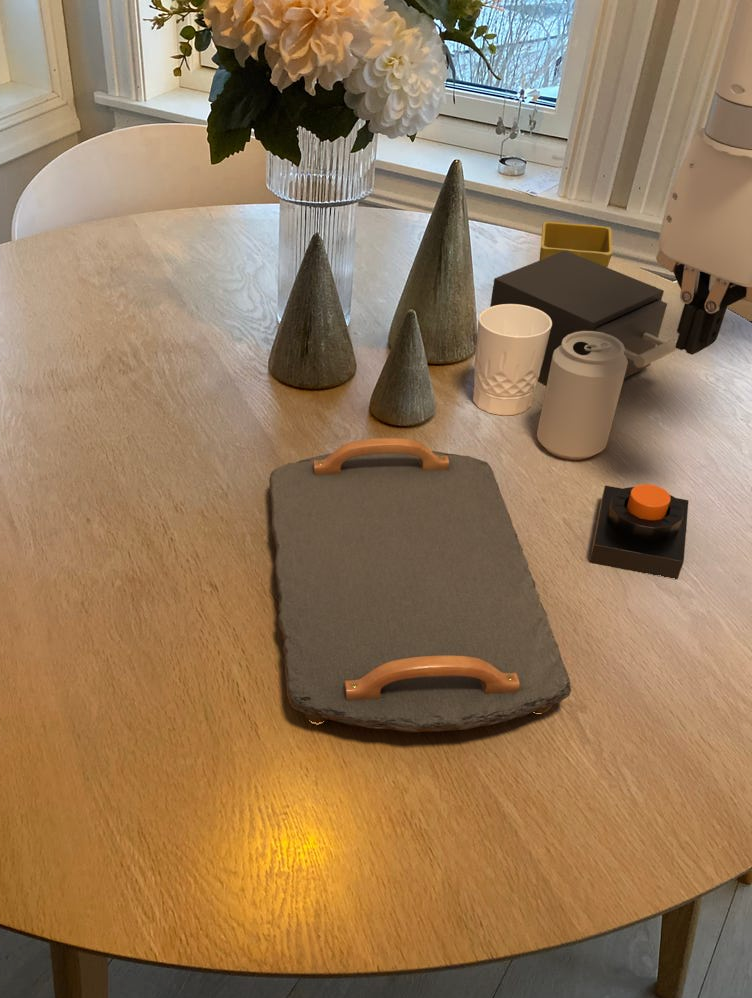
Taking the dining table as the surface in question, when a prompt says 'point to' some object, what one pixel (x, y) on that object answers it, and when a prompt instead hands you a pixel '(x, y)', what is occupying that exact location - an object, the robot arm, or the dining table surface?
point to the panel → (639, 536)
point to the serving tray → (407, 592)
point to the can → (582, 394)
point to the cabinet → (572, 295)
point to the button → (648, 502)
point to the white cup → (509, 357)
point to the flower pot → (577, 241)
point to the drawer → (640, 335)
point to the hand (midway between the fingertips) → (693, 346)
